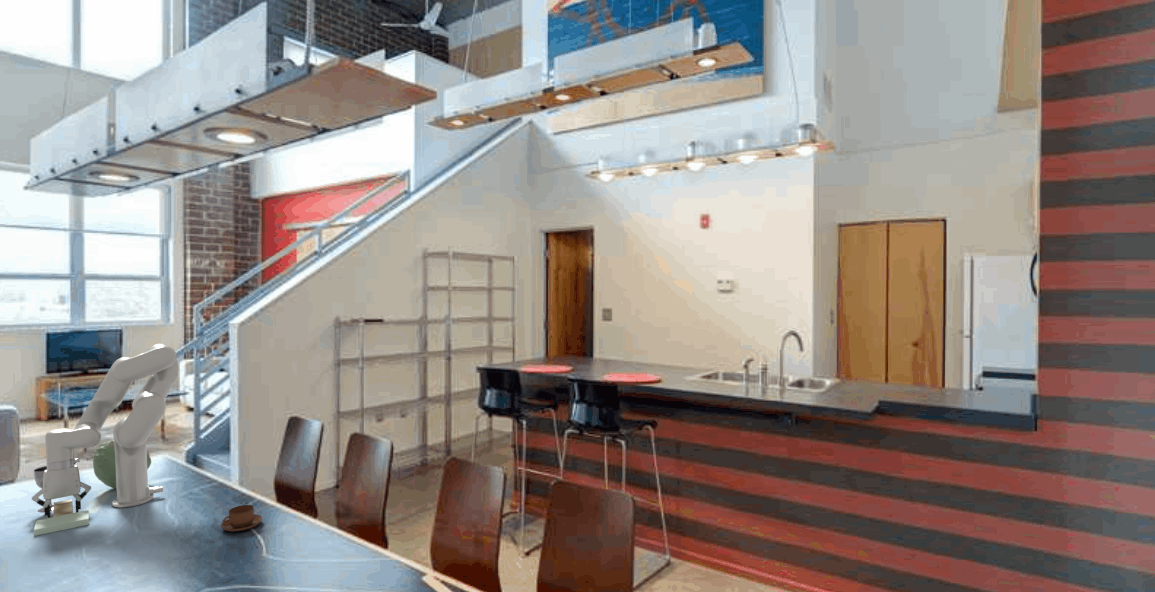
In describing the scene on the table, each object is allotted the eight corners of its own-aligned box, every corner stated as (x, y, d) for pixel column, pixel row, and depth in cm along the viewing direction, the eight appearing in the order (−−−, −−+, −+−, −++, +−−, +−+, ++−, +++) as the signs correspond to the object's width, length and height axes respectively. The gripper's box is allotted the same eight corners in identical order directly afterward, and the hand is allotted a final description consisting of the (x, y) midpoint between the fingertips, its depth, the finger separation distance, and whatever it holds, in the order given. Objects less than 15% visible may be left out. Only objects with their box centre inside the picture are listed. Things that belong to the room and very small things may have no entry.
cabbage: (159, 483, 251) (157, 434, 250) (104, 498, 235) (102, 446, 234) (141, 477, 259) (138, 430, 258) (87, 491, 243) (84, 441, 242)
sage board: (88, 515, 218) (88, 509, 218) (89, 524, 210) (88, 518, 210) (36, 526, 210) (36, 520, 210) (34, 535, 202) (34, 529, 202)
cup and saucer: (244, 536, 200) (243, 517, 199) (212, 533, 202) (211, 514, 202) (270, 521, 211) (269, 503, 211) (239, 518, 214) (238, 501, 213)
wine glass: (70, 504, 229) (68, 464, 229) (50, 513, 221) (47, 471, 221) (50, 504, 230) (48, 464, 229) (29, 512, 222) (27, 471, 221)
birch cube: (72, 512, 221) (72, 499, 221) (72, 517, 217) (71, 503, 217) (54, 516, 218) (53, 502, 218) (54, 520, 214) (53, 506, 214)
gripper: (92, 457, 225) (94, 505, 226) (28, 467, 215) (31, 517, 215) (92, 462, 220) (94, 511, 220) (26, 472, 209) (29, 524, 210)
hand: (63, 514), depth 218 cm, fingers open, 7 cm apart
